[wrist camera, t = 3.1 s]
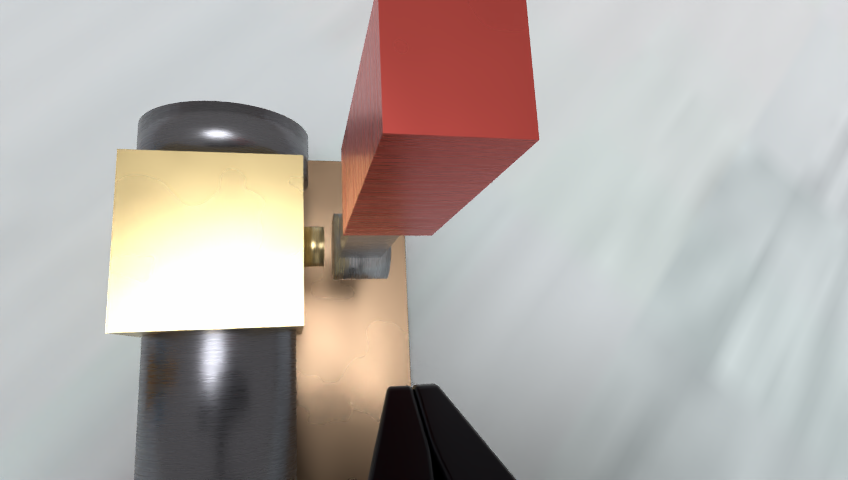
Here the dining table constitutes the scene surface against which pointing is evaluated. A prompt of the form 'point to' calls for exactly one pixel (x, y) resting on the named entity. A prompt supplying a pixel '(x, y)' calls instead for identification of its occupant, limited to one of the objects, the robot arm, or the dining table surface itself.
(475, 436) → the robot arm
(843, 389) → the dining table surface
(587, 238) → the dining table surface
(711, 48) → the dining table surface
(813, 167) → the dining table surface
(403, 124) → the lever
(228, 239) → the valve
